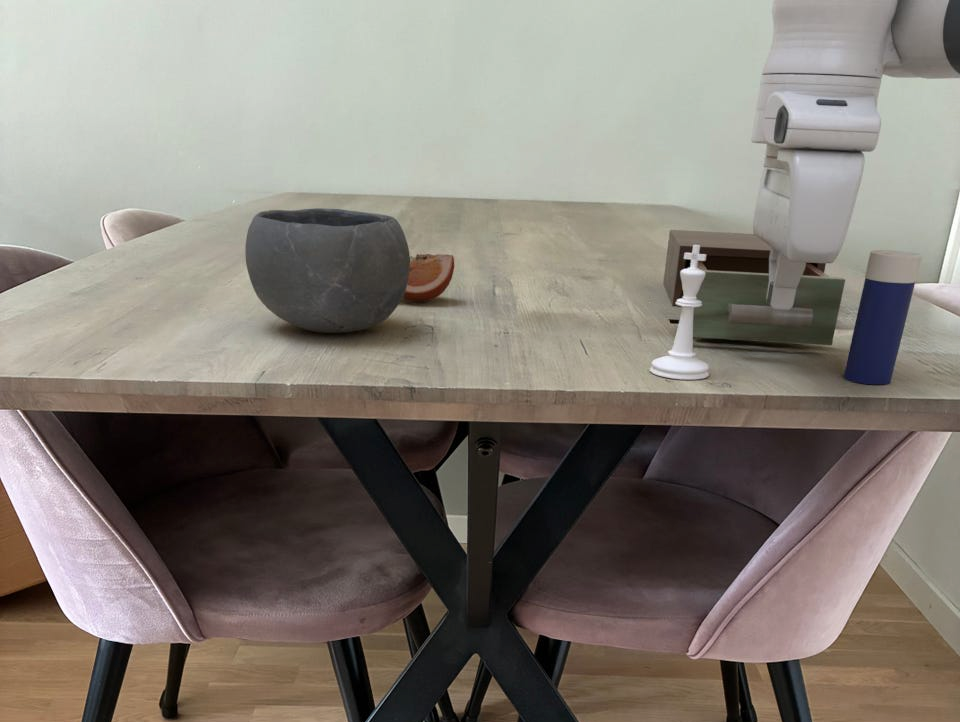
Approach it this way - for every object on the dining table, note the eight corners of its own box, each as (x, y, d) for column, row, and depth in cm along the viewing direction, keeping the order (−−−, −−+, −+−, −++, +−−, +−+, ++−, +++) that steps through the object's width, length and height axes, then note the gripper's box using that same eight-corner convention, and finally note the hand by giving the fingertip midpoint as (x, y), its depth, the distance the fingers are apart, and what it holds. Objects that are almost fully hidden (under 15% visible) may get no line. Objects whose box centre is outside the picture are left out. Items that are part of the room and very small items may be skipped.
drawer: (842, 356, 84) (857, 287, 82) (689, 346, 85) (699, 278, 83) (802, 317, 101) (813, 258, 98) (674, 309, 102) (682, 251, 99)
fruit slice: (372, 303, 103) (371, 254, 101) (384, 293, 109) (384, 246, 107) (448, 308, 102) (449, 258, 100) (457, 297, 108) (458, 250, 106)
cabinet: (812, 332, 98) (828, 253, 95) (670, 323, 99) (680, 245, 96) (786, 305, 112) (799, 236, 108) (661, 298, 113) (669, 229, 109)
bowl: (440, 327, 93) (442, 216, 88) (346, 354, 82) (342, 227, 77) (320, 309, 99) (316, 204, 94) (218, 331, 88) (207, 212, 83)
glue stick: (884, 375, 82) (914, 251, 77) (896, 386, 79) (928, 257, 74) (838, 372, 83) (865, 248, 78) (848, 383, 79) (877, 255, 74)
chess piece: (662, 363, 83) (678, 239, 78) (716, 371, 81) (736, 245, 76) (640, 373, 79) (655, 244, 75) (697, 383, 77) (716, 251, 72)
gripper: (752, 119, 83) (726, 285, 90) (794, 119, 65) (758, 327, 72) (826, 122, 83) (794, 289, 89) (888, 123, 65) (843, 332, 72)
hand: (778, 306), depth 81 cm, fingers closed
